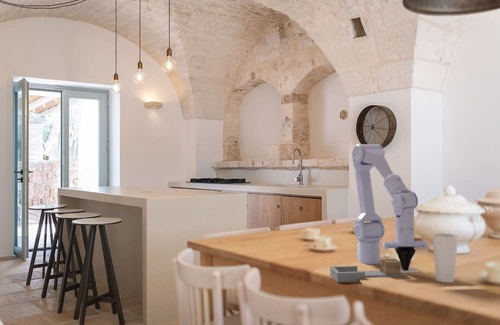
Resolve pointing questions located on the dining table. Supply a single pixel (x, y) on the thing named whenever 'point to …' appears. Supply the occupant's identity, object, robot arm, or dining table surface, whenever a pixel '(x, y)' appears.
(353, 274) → the grey square pan
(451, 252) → the drinking glass
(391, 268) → the block
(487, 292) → the dining table surface
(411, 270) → the plate
